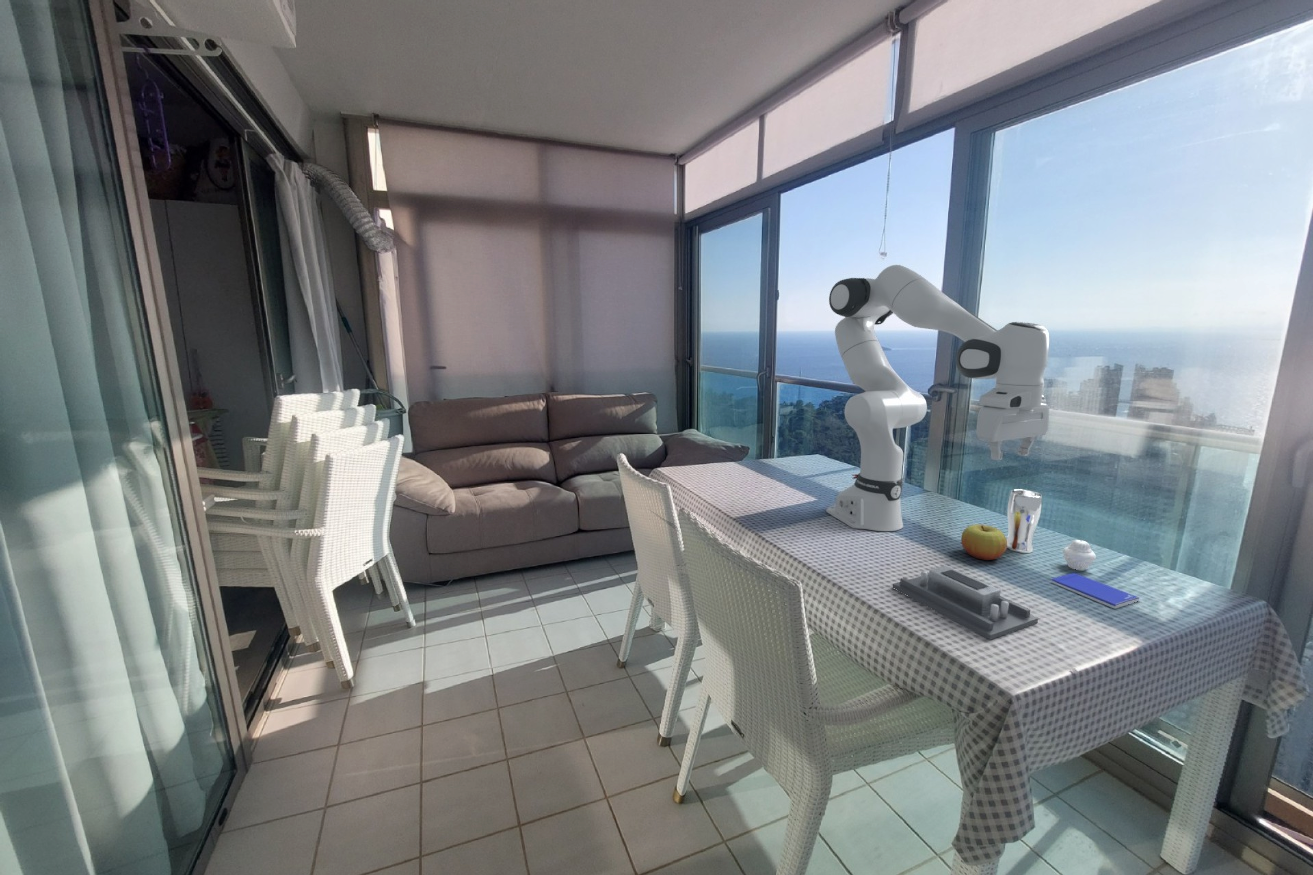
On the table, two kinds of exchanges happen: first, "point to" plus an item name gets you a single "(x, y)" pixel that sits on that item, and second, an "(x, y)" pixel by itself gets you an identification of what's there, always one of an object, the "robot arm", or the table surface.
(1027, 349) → the robot arm
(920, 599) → the tray
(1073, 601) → the table surface
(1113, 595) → the hard drive
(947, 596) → the block
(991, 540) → the apple
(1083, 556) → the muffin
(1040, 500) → the beer glass
